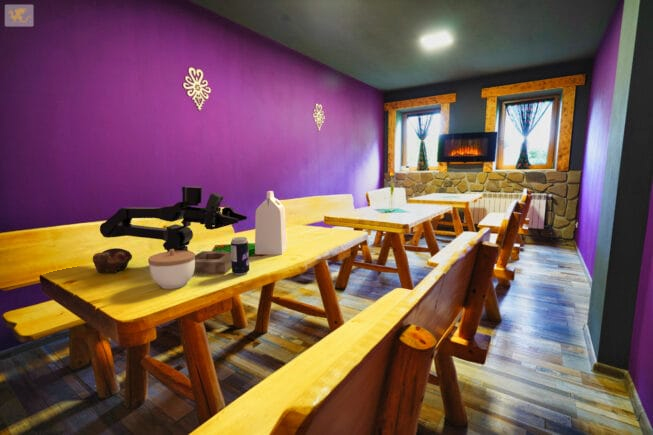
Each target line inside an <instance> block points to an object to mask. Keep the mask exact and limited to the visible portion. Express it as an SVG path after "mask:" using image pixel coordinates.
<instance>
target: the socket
mask: <svg viewBox="0 0 653 435" xmlns="http://www.w3.org/2000/svg"><path fill="white" fill-rule="evenodd" d="M230 270H232V261H231V250H230V251H224V250H222V251H221V250H218V251H217V250H215V251H214V250H212V251H211V250H202V251H200V252H199V253H195V270H194V274H205V275H206V274H207V275H209V274H210V275H212V274H213V275H214V274H215V275H217V274H218V275H224V274H225V275H226V274H227V273H228V272H229V271H230Z"/></svg>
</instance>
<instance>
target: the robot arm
mask: <svg viewBox="0 0 653 435" xmlns="http://www.w3.org/2000/svg"><path fill="white" fill-rule="evenodd" d="M181 192H182V194H181V195H182V196H181V198H182V201H178V202H176V203H175V204H173V205H167V206H162V207H144V206H143V207H141V206H140V207H138V206H137V207H135V206H134V207H132V206H125V207H121V208H119V209H118V210H117V211H116V213H114V214H113V215H112V216H110V217H108V219H106V221H104V222H103V223H101V224H100V225H99V232H100V234H101V235H102V237H104V238H107V239H108V238H119V237H126V236H127V237H134V238H135V237H136V238H144V239H151V240H153V239H154V240H160V241H161V240H162V241H164V243H162V246H163V249H164V250H166V252H168V251H170V249H174V251H190V250H189V249H188V246H189V245H190V242H191V241H192V239H193V237H194V232H193V230H192V229H191V227H190V226H191V223H195V224H199V225H204V228H205V229H206V230H217V229H220V228H223V227H228V226H231V225H236V224H238V223H239V222H241V221H245V220H247V219H248V216H247V215H243V214H242V213H238V212H236V211H235V210H234V208H233V206H224V207H223V208H221V207H220V205H221V203H222V201H223V200H224V196H223V195H222V194H220V193H219V194H218V193H217V192H214V193H213V192H211V193H210V194H209V197H208V200H207V202H206V205H205V207H198V206H200V204H202V203H203V187H202V186H186V185H185V186H182V187H181ZM133 219H157V220H158V219H159V220H161V221H165V222H170V223H172V222H176V221H180V220H182V221H181V222H180V224H176V223H174V224H172V225H169V226H166V228H164V227H157V226H156V227H154V226H146V225H138V224H137V225H136V224H132V221H133ZM181 224H182V225H181Z"/></svg>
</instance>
